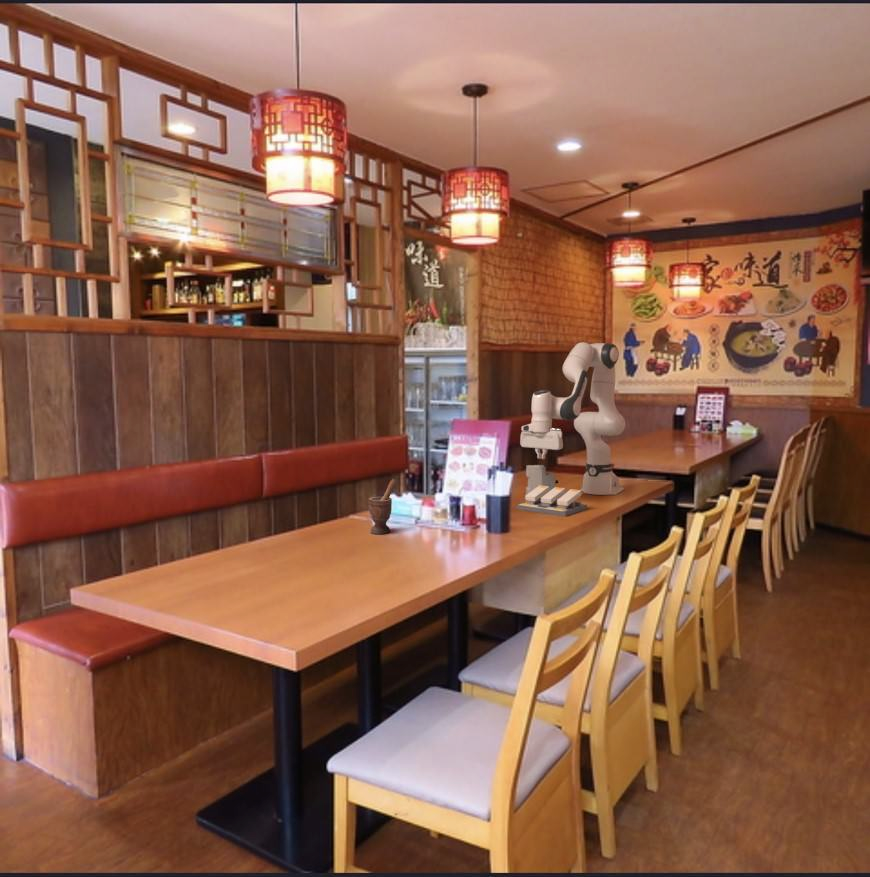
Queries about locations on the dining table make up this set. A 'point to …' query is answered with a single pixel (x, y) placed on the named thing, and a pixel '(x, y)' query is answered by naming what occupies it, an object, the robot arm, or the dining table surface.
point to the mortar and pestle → (381, 510)
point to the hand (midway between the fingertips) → (541, 458)
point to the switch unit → (552, 507)
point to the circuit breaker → (539, 478)
